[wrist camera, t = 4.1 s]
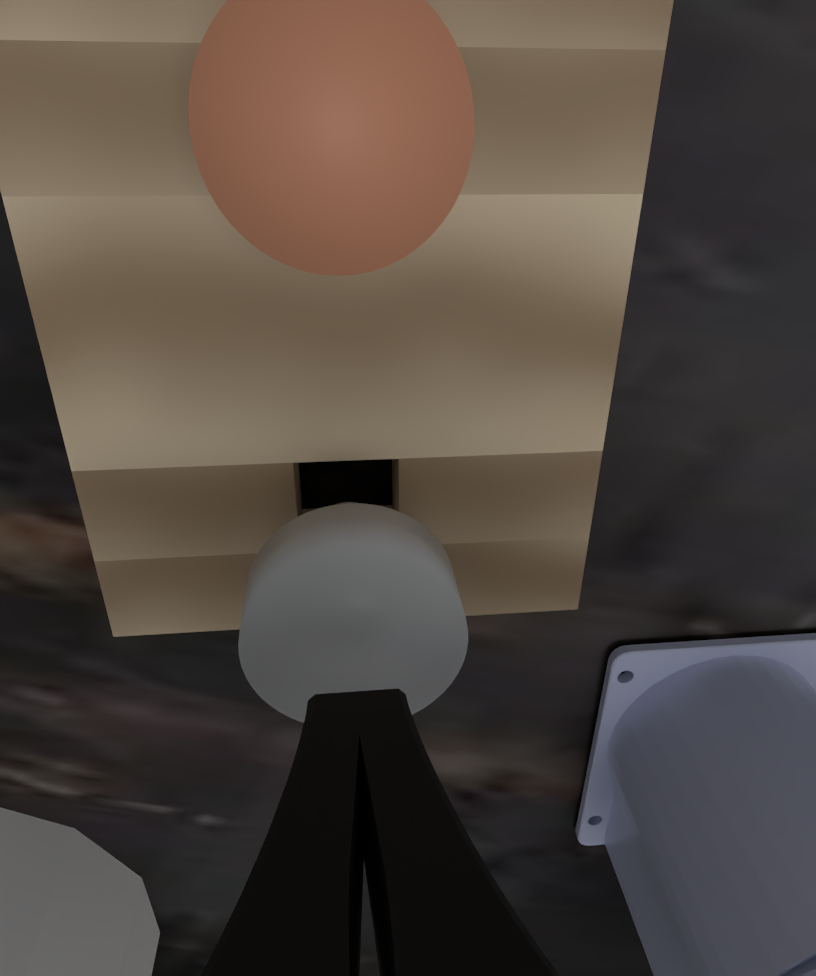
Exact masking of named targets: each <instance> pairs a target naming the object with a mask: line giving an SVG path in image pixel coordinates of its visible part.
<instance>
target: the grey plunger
mask: <svg viewBox="0 0 816 976" xmlns="http://www.w3.org/2000/svg"><path fill="white" fill-rule="evenodd" d="M467 646H468V627H467V622H466V617H465V613H464V610H463V606H462V602H461V598H460V595H459V591H458V587H457V583H456V580H455V576H454V572H453V568H452V565H451V562H450V559H449V557H448V554H447V552H446V551H445V549H444V547H443V545H442V544H441V543H440V541H439V540H438V539H437V538H436V536H435V535H434V534H433V533H432V532H431V531H430V530H429V529H427V528H426V527H425V526H424V525H422V524H421V523H420V522H418V521H417V520H415V519H413V518H411V517H410V516H408V515H406V514H404V513H401V512H399V511H396V510H393V509H390V508H386V507H382V506H378V505H371V504H362V503H357V502H343V503H339V504H336V505H331V506H327V507H322V508H318V509H316V510H313V511H310V512H307V513H305V514H303V515H300V516H298V517H296V518H294V519H293V520H291V521H289V522H288V523H286V524H285V525H283V526H282V527H281V528H280V529H278V530H277V531H276V532H275V533H274V534H272V535H271V537H270V538H269V539H268V540H267V541H266V542H265V543H264V544H263V546H262V547H261V549H260V550H259V552H258V553H257V555H256V557H255V559H254V562H253V564H252V566H251V570H250V573H249V577H248V584H247V590H246V596H245V602H244V608H243V614H242V620H241V627H240V633H239V641H238V649H239V658H240V663H241V667H242V669H243V672H244V674H245V676H246V678H247V680H248V682H249V683H250V685H251V686H252V688H253V689H254V690H255V691H256V693H257V694H258V695H259V696H260V697H261V698H262V699H263V700H264V701H265V702H266V703H268V704H269V705H270V706H271V707H273V708H274V709H276V710H277V711H279V712H280V713H282V714H284V715H286V716H288V717H290V718H292V719H295V720H297V721H300V722H303V723H304V721H305V716H306V710H307V703H308V700H309V699H310V698H311V697H313V696H314V695H315V694H325V693H339V692H354V691H368V690H383V689H397V688H398V689H400V690H401V691H402V692H404V693H405V694H406V697H407V701H408V705H409V708H410V711H411V714H412V715H413V714H414V713H416V712H418V711H420V710H422V709H423V708H425V707H426V706H428V705H429V704H431V703H432V702H433V701H435V700H436V699H437V698H438V697H439V696H440V695H441V694H442V693H443V692H444V691H445V690H446V689H447V688H448V687H449V686H450V685H451V683H452V682H453V680H454V679H455V678H456V676H457V675H458V673H459V671H460V669H461V667H462V665H463V662H464V659H465V656H466V653H467Z"/></svg>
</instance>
